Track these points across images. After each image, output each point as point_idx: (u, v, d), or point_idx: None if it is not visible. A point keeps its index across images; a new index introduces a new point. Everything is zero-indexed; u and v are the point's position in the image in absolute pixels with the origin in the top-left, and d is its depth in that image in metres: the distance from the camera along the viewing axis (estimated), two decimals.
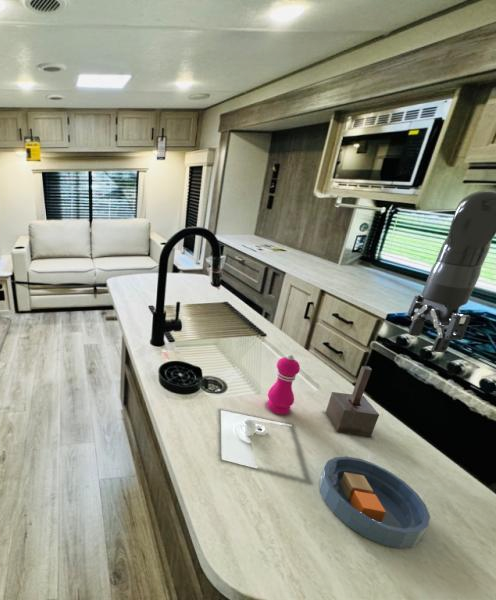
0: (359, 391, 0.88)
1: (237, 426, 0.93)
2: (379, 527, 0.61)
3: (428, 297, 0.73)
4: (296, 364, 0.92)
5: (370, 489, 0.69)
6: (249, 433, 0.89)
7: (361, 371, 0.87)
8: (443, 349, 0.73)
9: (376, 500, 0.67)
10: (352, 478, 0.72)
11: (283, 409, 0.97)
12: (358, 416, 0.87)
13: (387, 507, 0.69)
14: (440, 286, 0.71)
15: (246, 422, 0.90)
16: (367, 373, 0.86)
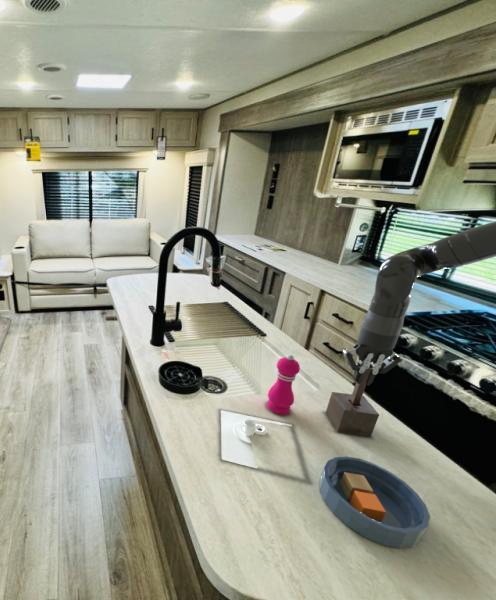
0: (359, 391, 0.88)
1: (237, 426, 0.93)
2: (379, 527, 0.61)
3: None
4: (296, 364, 0.92)
5: (370, 489, 0.69)
6: (249, 433, 0.89)
7: None
8: (354, 378, 0.88)
9: (376, 500, 0.67)
10: (352, 478, 0.72)
11: (283, 409, 0.97)
12: (358, 416, 0.87)
13: (387, 507, 0.69)
14: None
15: (246, 422, 0.90)
16: (367, 373, 0.86)
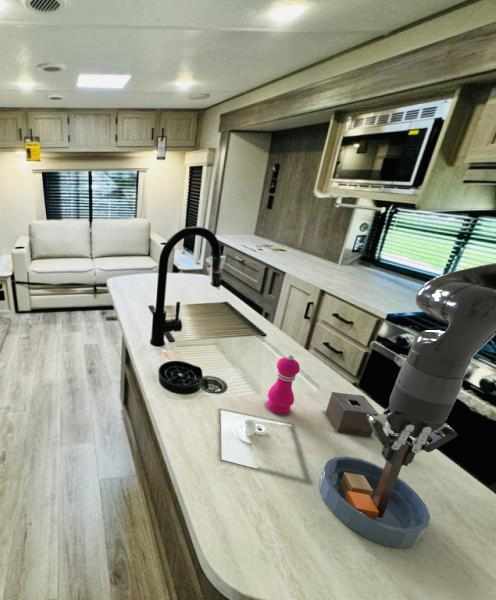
0: (392, 473, 0.62)
1: (237, 426, 0.93)
2: (379, 527, 0.61)
3: None
4: (296, 364, 0.92)
5: (370, 489, 0.69)
6: (249, 433, 0.89)
7: None
8: (384, 455, 0.61)
9: (369, 500, 0.67)
10: (352, 478, 0.72)
11: (283, 409, 0.97)
12: (358, 416, 0.87)
13: (387, 507, 0.69)
14: None
15: (246, 422, 0.90)
16: (403, 450, 0.59)
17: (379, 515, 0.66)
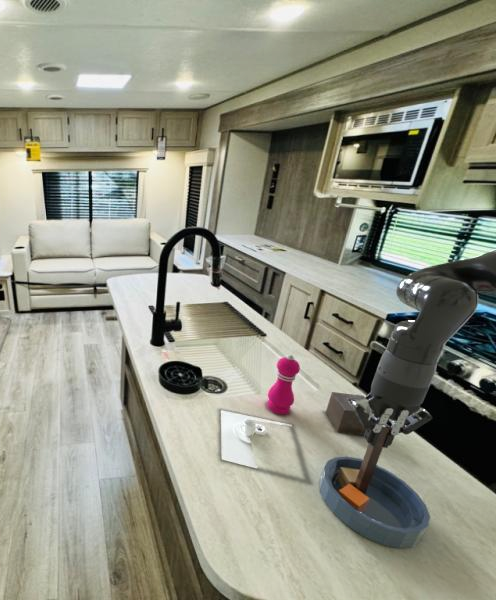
0: (373, 455, 0.66)
1: (237, 426, 0.93)
2: (379, 527, 0.61)
3: None
4: (296, 364, 0.92)
5: None
6: (249, 433, 0.89)
7: None
8: (366, 438, 0.66)
9: (355, 490, 0.69)
10: (348, 473, 0.73)
11: (283, 409, 0.97)
12: None
13: (387, 507, 0.69)
14: None
15: (246, 422, 0.90)
16: (384, 432, 0.64)
17: None
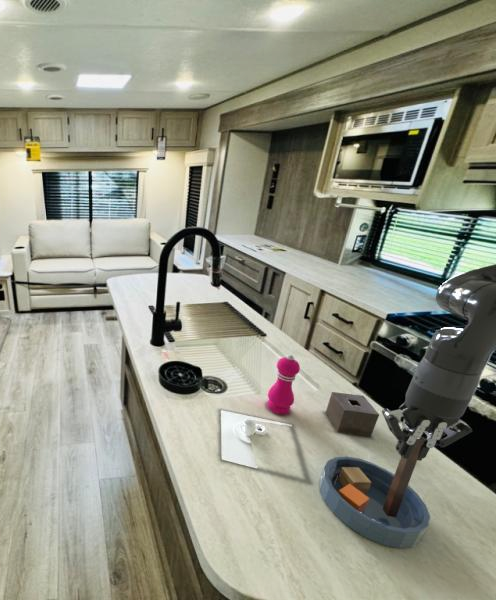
0: (407, 469, 0.62)
1: (237, 426, 0.93)
2: (379, 527, 0.61)
3: None
4: (296, 364, 0.92)
5: (368, 481, 0.71)
6: (249, 433, 0.89)
7: None
8: (398, 450, 0.63)
9: (355, 490, 0.69)
10: (350, 472, 0.73)
11: (283, 409, 0.97)
12: (358, 416, 0.87)
13: None
14: None
15: (246, 422, 0.90)
16: (418, 444, 0.60)
17: (393, 514, 0.66)
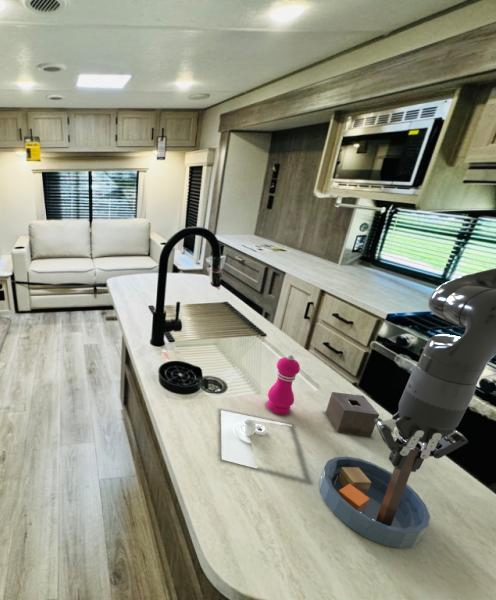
0: (400, 480, 0.60)
1: (237, 426, 0.93)
2: (379, 527, 0.61)
3: None
4: (296, 364, 0.92)
5: (368, 481, 0.71)
6: (249, 433, 0.89)
7: None
8: (392, 461, 0.60)
9: (355, 490, 0.69)
10: (350, 472, 0.73)
11: (283, 409, 0.97)
12: (358, 416, 0.87)
13: None
14: None
15: (246, 422, 0.90)
16: (412, 455, 0.58)
17: None
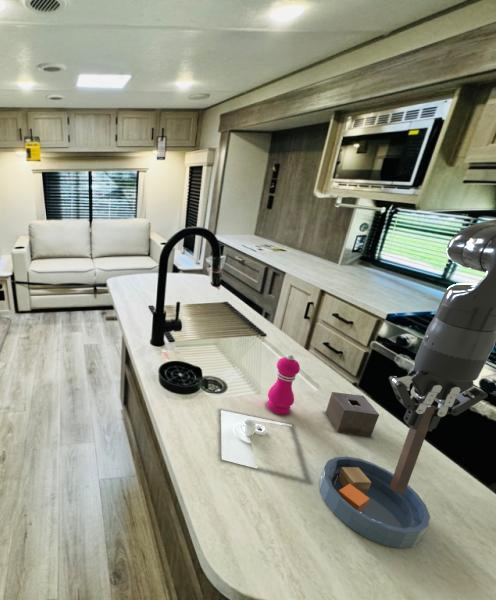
0: (416, 441, 0.58)
1: (237, 426, 0.93)
2: (379, 527, 0.61)
3: None
4: (296, 364, 0.92)
5: (368, 481, 0.71)
6: (249, 433, 0.89)
7: None
8: (407, 420, 0.58)
9: (355, 490, 0.69)
10: (350, 472, 0.73)
11: (283, 409, 0.97)
12: (358, 416, 0.87)
13: (387, 507, 0.69)
14: None
15: (246, 422, 0.90)
16: (429, 413, 0.56)
17: (401, 491, 0.61)
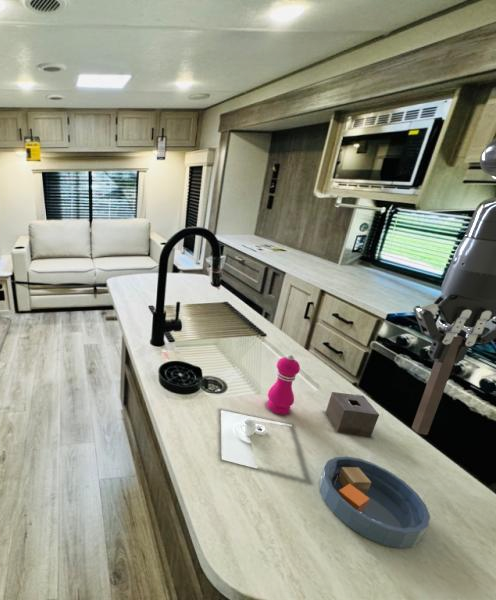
0: (442, 375, 0.55)
1: (237, 426, 0.93)
2: (379, 527, 0.61)
3: None
4: (296, 364, 0.92)
5: (368, 481, 0.71)
6: (249, 433, 0.89)
7: None
8: (432, 354, 0.55)
9: (355, 490, 0.69)
10: (350, 472, 0.73)
11: (283, 409, 0.97)
12: (358, 416, 0.87)
13: (387, 507, 0.69)
14: None
15: (246, 422, 0.90)
16: (456, 344, 0.53)
17: (424, 431, 0.59)
